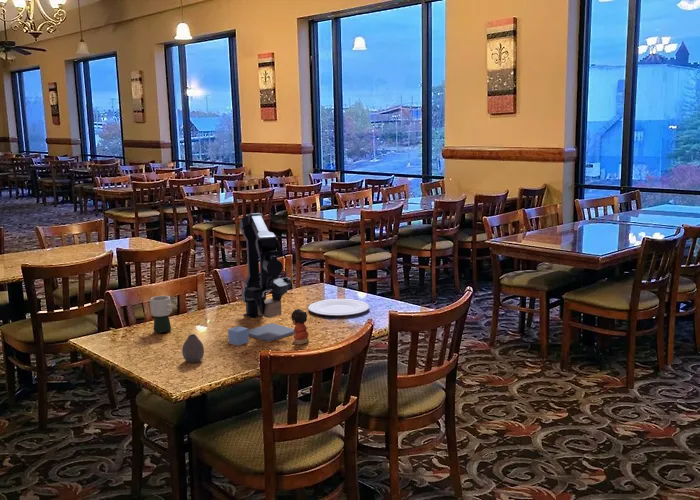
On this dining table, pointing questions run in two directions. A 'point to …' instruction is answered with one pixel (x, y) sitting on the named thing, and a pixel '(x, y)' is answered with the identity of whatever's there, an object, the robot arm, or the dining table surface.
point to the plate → (338, 307)
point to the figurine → (300, 326)
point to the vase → (193, 349)
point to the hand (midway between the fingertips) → (269, 312)
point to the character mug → (161, 313)
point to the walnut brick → (271, 308)
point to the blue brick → (238, 335)
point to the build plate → (270, 332)
